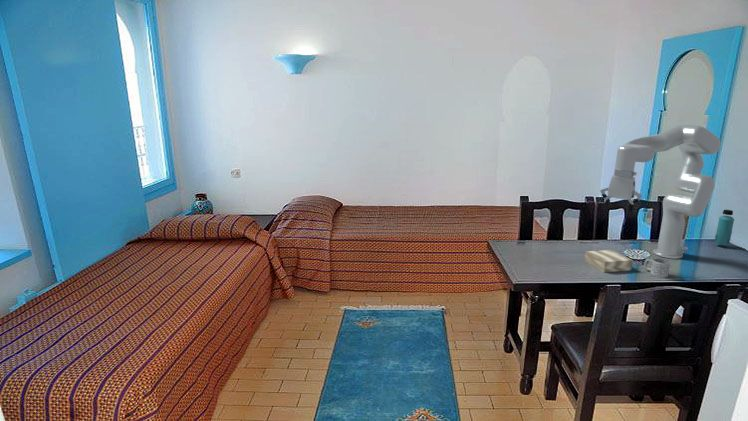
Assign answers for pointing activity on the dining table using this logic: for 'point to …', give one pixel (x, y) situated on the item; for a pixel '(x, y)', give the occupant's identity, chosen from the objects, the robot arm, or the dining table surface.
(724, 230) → the beverage bottle
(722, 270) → the dining table surface
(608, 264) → the base block
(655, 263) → the mug
